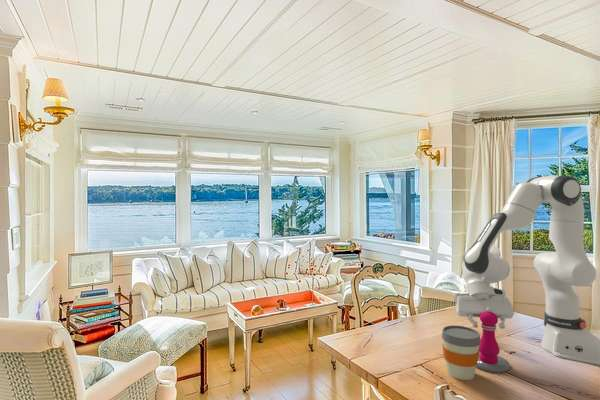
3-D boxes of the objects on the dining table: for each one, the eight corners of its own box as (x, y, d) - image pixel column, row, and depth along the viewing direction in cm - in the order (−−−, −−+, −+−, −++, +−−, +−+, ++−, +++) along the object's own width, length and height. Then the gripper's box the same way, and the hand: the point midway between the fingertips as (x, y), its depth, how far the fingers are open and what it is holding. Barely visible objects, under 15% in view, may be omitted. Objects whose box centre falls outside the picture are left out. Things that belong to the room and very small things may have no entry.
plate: (513, 362, 134) (513, 359, 134) (504, 377, 124) (504, 373, 124) (473, 351, 143) (473, 348, 143) (462, 364, 133) (462, 360, 133)
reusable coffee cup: (435, 373, 126) (435, 331, 126) (450, 361, 135) (450, 322, 135) (472, 387, 117) (472, 342, 117) (485, 373, 126) (485, 331, 126)
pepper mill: (502, 365, 129) (503, 311, 129) (481, 364, 130) (481, 310, 130) (495, 356, 136) (495, 305, 136) (475, 355, 138) (475, 304, 137)
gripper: (454, 289, 141) (461, 322, 132) (509, 291, 138) (520, 325, 129) (451, 297, 146) (457, 329, 136) (504, 299, 143) (515, 332, 133)
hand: (489, 327), depth 132 cm, fingers open, 8 cm apart
